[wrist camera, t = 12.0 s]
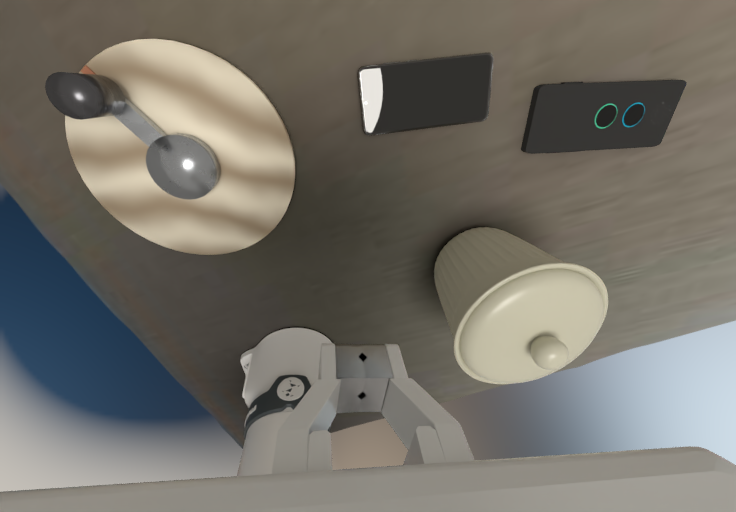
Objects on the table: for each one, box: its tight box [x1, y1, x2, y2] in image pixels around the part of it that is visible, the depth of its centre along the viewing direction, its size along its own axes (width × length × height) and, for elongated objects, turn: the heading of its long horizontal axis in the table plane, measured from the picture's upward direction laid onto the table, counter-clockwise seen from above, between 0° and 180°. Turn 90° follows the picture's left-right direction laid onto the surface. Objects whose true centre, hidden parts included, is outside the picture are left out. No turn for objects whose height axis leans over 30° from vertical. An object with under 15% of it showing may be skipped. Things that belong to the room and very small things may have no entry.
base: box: [65, 39, 295, 255], centre depth 35 cm, size 24×24×2 cm
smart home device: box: [521, 80, 686, 153], centre depth 39 cm, size 8×2×20 cm
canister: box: [434, 227, 608, 384], centre depth 39 cm, size 18×18×21 cm
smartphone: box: [358, 53, 494, 136], centre depth 36 cm, size 7×1×16 cm
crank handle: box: [45, 72, 221, 200], centre depth 30 cm, size 14×7×6 cm, turn 37°
